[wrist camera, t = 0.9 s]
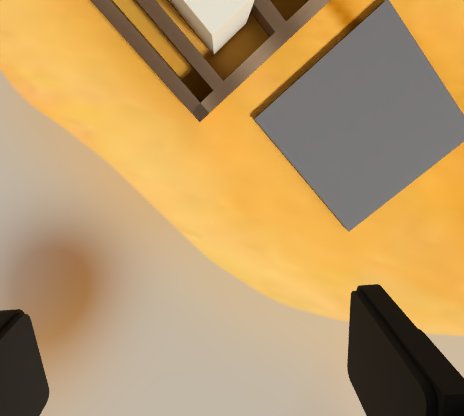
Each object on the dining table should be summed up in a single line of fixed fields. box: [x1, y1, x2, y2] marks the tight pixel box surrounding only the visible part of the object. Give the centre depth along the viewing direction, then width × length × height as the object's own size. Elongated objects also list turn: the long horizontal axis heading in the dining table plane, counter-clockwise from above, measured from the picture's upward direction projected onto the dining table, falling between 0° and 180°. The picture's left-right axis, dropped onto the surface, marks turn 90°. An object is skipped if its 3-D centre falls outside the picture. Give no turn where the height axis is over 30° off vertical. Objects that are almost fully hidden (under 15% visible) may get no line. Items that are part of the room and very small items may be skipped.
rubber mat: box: [254, 0, 464, 231], centre depth 36 cm, size 16×16×1 cm
